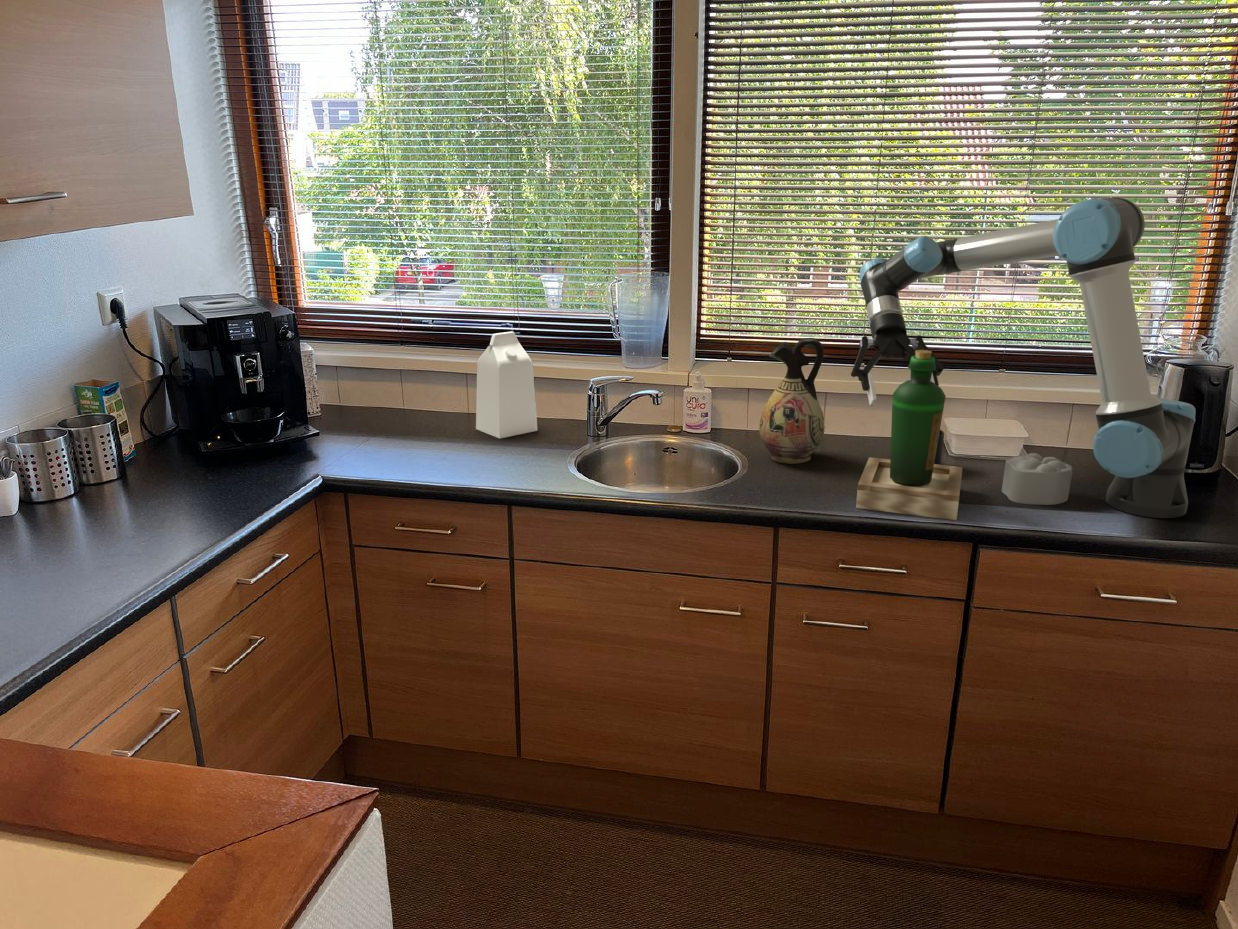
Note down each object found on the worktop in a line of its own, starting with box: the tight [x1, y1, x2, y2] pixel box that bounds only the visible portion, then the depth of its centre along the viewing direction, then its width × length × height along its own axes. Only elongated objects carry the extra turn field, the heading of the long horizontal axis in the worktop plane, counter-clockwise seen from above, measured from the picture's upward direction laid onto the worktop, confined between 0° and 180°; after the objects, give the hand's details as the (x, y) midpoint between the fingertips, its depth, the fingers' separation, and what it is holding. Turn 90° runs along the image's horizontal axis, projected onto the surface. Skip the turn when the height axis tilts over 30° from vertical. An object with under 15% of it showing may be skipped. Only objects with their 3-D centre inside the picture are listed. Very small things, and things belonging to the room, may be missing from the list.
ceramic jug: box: [758, 337, 825, 465], centre depth 229 cm, size 17×15×30 cm
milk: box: [475, 331, 538, 439], centre depth 253 cm, size 12×12×26 cm
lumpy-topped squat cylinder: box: [1001, 452, 1073, 506], centre depth 208 cm, size 10×13×9 cm
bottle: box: [890, 350, 947, 486], centre depth 202 cm, size 11×11×28 cm
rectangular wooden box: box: [855, 456, 964, 521], centre depth 206 cm, size 20×20×5 cm
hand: (904, 402), depth 208 cm, fingers open, 13 cm apart
